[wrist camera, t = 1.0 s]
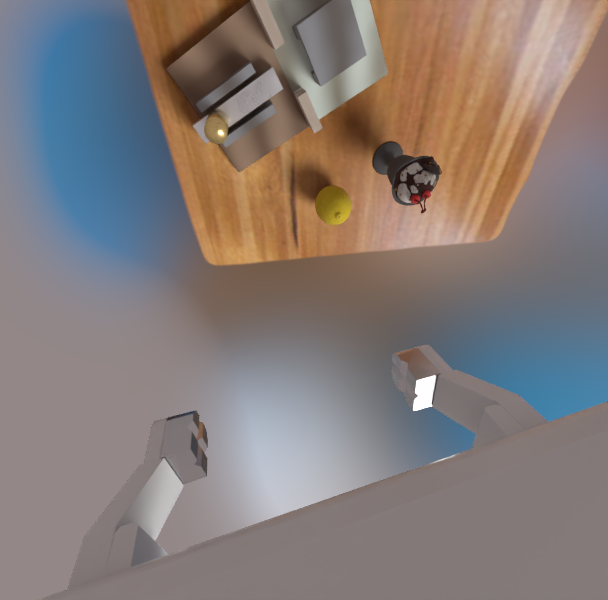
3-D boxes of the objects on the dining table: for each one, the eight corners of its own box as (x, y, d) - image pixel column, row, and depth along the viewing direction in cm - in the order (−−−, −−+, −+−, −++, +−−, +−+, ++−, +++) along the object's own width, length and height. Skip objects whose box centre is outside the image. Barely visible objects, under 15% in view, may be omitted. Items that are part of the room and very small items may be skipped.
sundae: (370, 185, 50) (407, 229, 39) (365, 144, 45) (405, 180, 34) (408, 172, 50) (456, 212, 39) (406, 129, 45) (461, 161, 34)
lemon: (304, 193, 49) (313, 215, 43) (331, 171, 47) (345, 190, 41) (323, 216, 52) (334, 239, 47) (349, 196, 51) (363, 217, 45)
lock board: (238, 169, 45) (239, 182, 41) (167, 67, 36) (159, 72, 32) (385, 72, 40) (400, 77, 36) (345, -76, 30) (361, -91, 27)
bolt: (207, 140, 40) (203, 156, 35) (193, 122, 38) (187, 135, 34) (282, 87, 38) (288, 96, 33) (271, 64, 36) (276, 70, 31)
